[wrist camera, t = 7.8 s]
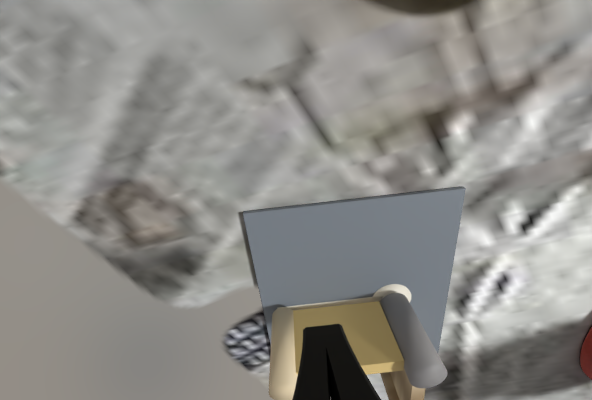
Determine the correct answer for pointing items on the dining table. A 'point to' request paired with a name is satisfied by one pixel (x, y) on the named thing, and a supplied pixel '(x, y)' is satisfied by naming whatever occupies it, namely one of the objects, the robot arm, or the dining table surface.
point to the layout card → (358, 253)
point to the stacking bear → (587, 355)
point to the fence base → (401, 386)
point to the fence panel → (357, 342)
